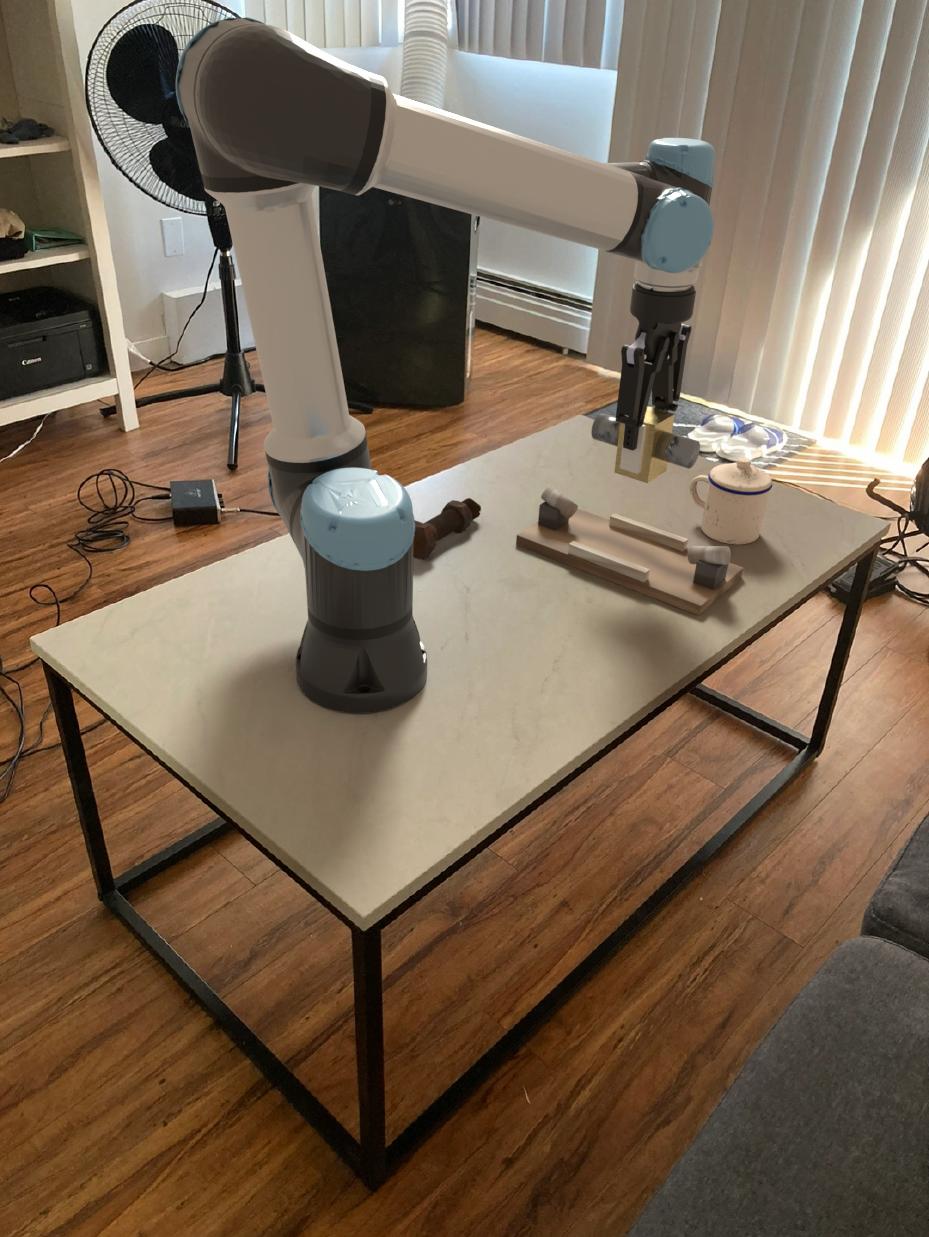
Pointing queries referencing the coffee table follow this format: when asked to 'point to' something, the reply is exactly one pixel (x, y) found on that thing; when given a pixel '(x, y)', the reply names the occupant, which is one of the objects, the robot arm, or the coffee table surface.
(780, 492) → the coffee table surface
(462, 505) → the bolt
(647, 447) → the universal joint
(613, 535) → the coupling cradle
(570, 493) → the coffee table surface
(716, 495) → the teacup with lid
